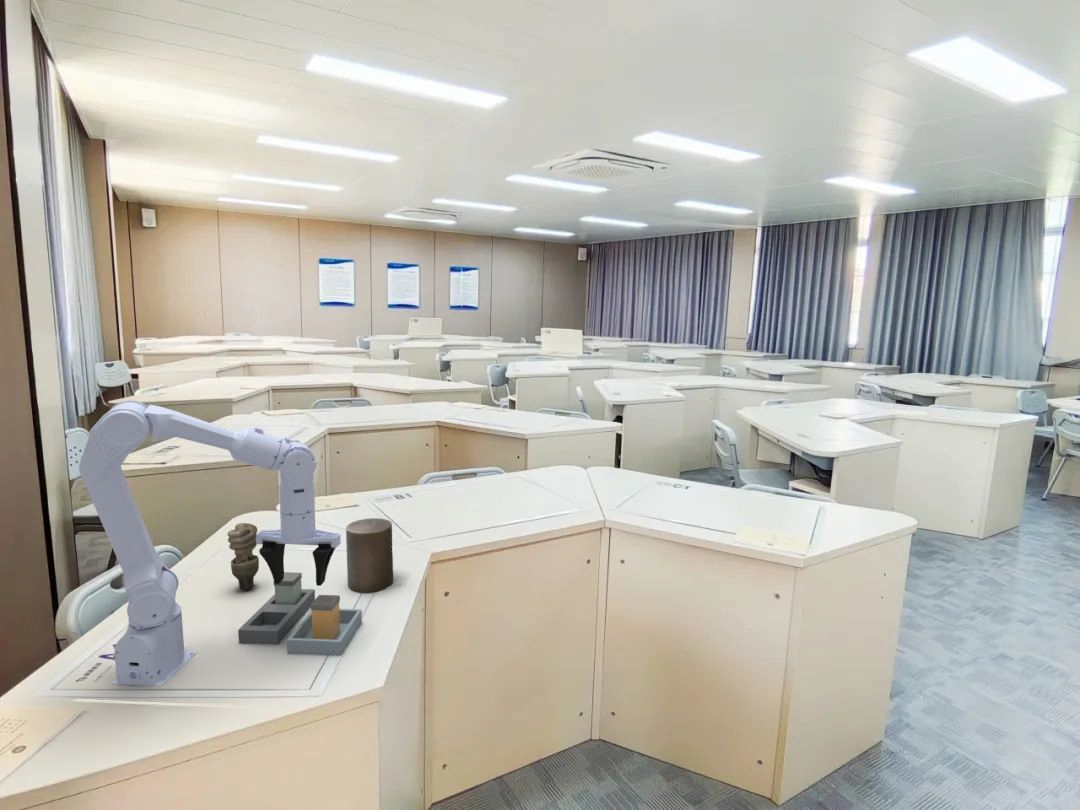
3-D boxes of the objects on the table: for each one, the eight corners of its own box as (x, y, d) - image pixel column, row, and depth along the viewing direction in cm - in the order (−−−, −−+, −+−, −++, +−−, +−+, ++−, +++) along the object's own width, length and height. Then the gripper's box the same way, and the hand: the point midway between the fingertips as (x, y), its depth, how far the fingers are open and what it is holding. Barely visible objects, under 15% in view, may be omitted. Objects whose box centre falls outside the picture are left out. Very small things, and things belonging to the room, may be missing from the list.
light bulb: (247, 599, 119) (244, 529, 117) (224, 596, 120) (220, 526, 118) (265, 587, 125) (262, 520, 123) (243, 584, 126) (240, 517, 124)
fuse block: (278, 647, 103) (277, 631, 102) (239, 645, 103) (238, 629, 102) (315, 603, 118) (314, 589, 118) (281, 602, 118) (280, 588, 118)
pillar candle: (401, 586, 127) (400, 520, 125) (359, 599, 120) (358, 530, 118) (379, 572, 134) (378, 509, 132) (339, 584, 127) (337, 518, 125)
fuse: (294, 615, 112) (293, 581, 111) (275, 614, 113) (273, 580, 112) (302, 605, 116) (301, 572, 115) (284, 605, 116) (282, 572, 115)
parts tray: (340, 658, 100) (340, 641, 99) (287, 656, 100) (286, 639, 99) (362, 624, 111) (361, 609, 110) (314, 622, 111) (313, 607, 111)
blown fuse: (332, 642, 103) (331, 605, 102) (311, 641, 104) (310, 604, 103) (340, 631, 107) (339, 595, 106) (320, 630, 107) (319, 594, 106)
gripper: (346, 504, 107) (347, 574, 109) (268, 501, 107) (271, 571, 109) (331, 517, 100) (332, 591, 102) (248, 514, 100) (251, 588, 102)
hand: (299, 582), depth 105 cm, fingers open, 7 cm apart
